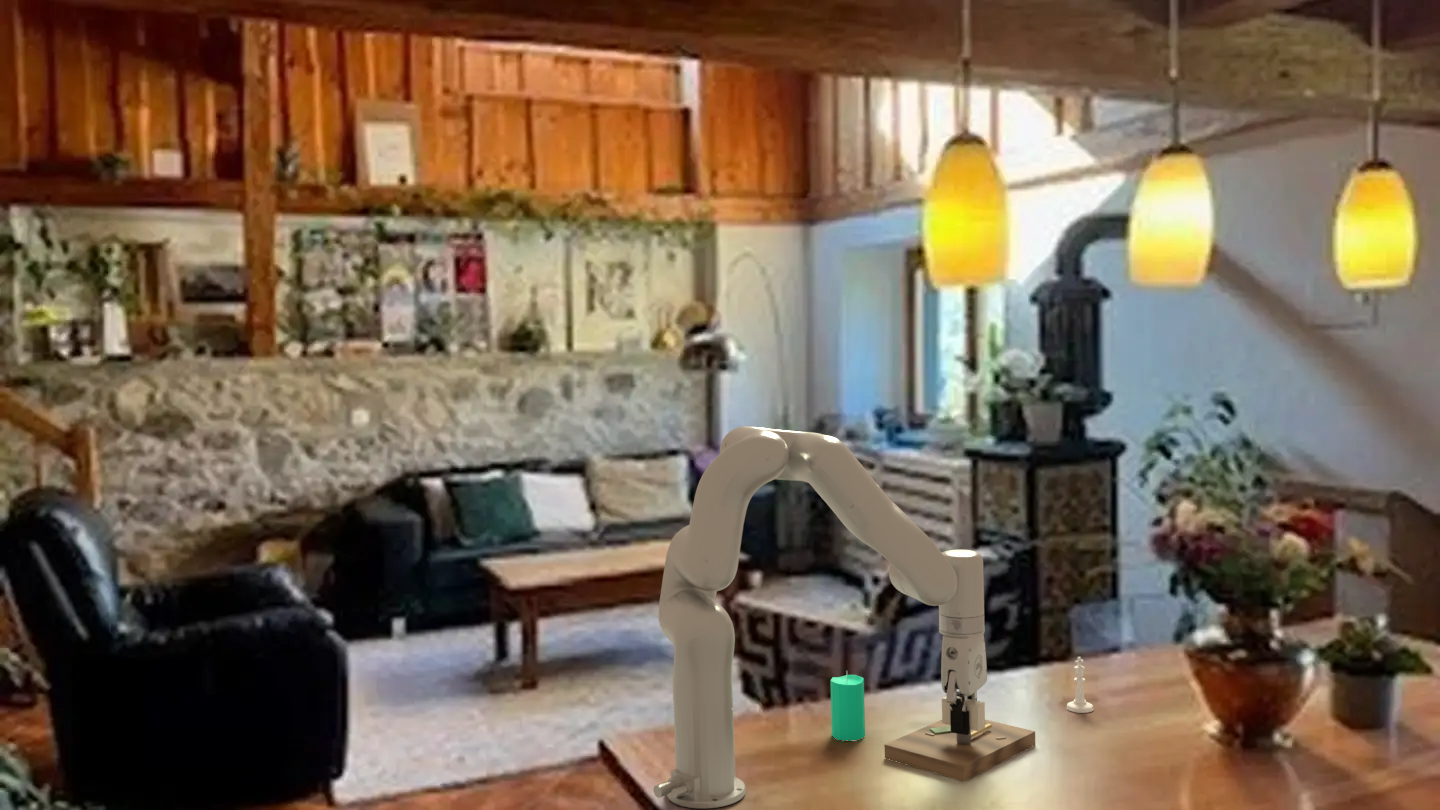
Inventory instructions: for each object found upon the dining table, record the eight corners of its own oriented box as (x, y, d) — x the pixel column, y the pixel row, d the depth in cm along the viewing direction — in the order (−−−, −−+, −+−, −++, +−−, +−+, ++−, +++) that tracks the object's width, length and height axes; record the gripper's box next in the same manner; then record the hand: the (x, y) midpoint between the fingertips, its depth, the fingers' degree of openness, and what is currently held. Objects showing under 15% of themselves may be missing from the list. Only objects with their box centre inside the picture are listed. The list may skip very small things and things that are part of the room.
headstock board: (964, 781, 197) (963, 764, 196) (884, 758, 208) (884, 742, 208) (1035, 745, 212) (1035, 729, 212) (957, 726, 223) (957, 711, 223)
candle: (864, 730, 223) (863, 666, 222) (865, 741, 217) (863, 675, 216) (831, 730, 223) (830, 666, 223) (831, 741, 217) (830, 675, 217)
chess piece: (1060, 707, 232) (1060, 656, 232) (1081, 703, 234) (1080, 652, 234) (1078, 714, 228) (1078, 662, 227) (1099, 710, 230) (1098, 658, 229)
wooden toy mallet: (978, 747, 204) (977, 705, 203) (942, 739, 209) (941, 698, 208) (1007, 732, 211) (1007, 691, 211) (972, 724, 216) (971, 684, 215)
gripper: (966, 637, 197) (968, 748, 198) (999, 615, 211) (1000, 719, 212) (922, 632, 201) (925, 741, 202) (957, 611, 215) (959, 713, 216)
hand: (963, 729), depth 207 cm, fingers closed on wooden toy mallet, 2 cm apart
